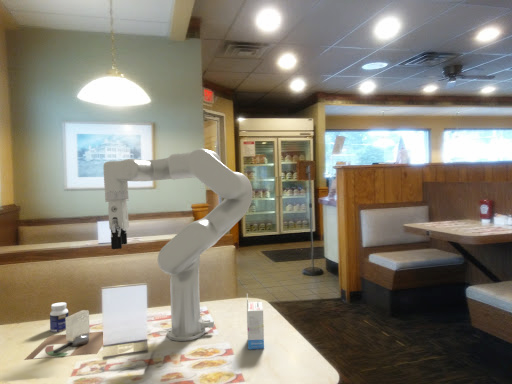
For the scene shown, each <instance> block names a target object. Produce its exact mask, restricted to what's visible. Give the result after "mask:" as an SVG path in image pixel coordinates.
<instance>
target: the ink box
mask: <svg viewBox="0 0 512 384" xmlns="http://www.w3.org/2000/svg"><path fill="white" fill-rule="evenodd" d="M248 296H249V295H248V293H246V325H247V326H246V327H247V343H248V344H247V346H248V350H261V349H262V350H264V349H265V333H264V330H265V329H264V327H265V326H264V307H263V302H262V301H256V302H255V301H254V302H253V301H252V302H249V301H248V300H249V299H248Z"/></svg>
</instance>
